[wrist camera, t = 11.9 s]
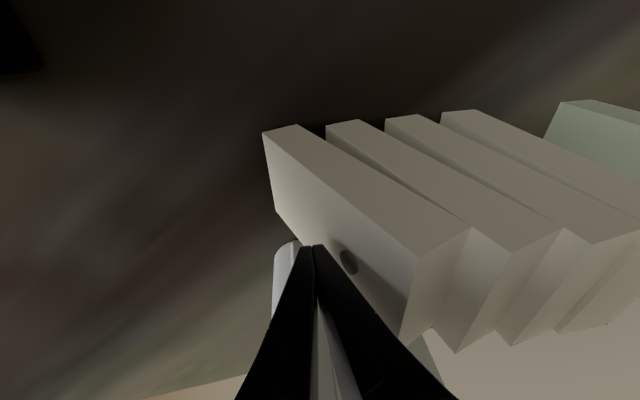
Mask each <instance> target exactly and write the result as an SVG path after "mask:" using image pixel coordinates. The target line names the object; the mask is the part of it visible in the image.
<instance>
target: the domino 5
mask: <svg viewBox="0 0 640 400" xmlns="http://www.w3.org/2000/svg"><path fill="white" fill-rule="evenodd" d="M543 139H544V140H546V141H548V142H550V143H553V144H555V145H557V146H559V147H562V148H564V149H566V150H568V151H571V152H573V153H575V154H577V155H580V156H582V157H584V158H586V159H589V160H591V161H593V162H596V163H598V164H600V165H602V166H605V167H607V168H609V169H611V170H614V171H616V172H618V173H620V174H623V175H625V176H627V177H629V178H632V179H634V180H636V181H638V182H640V112H639V111H635V110H631V109H627V108H623V107H619V106H615V105H612V104H608V103H604V102H600V101H596V100H592V99H589V100H578V101H567V102H560V104H559V106H558V108H557V110H556V113H555V115H554V117H553V119H552V121H551V123H550V125H549V127H548V129H547V131H546V133H545V135H544V137H543Z"/></svg>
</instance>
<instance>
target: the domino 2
mask: <svg viewBox="0 0 640 400" xmlns="http://www.w3.org/2000/svg"><path fill="white" fill-rule="evenodd" d="M326 141H327V142H328V143H330V144H332V145H334V146H335V147H337V148H339V149H340V150H342V151H344V152H346V153H347V154H349V155H351V156H352V157H354V158H356V159H358V160H359V161H361V162H363V163H364V164H366V165H368V166H370V167H371V168H373V169H375V170H376V171H378V172H380V173H382V174H383V175H385V176H387V177H388V178H390V179H392V180H394V181H395V182H397V183H399V184H400V185H402V186H404V187H406V188H407V189H409V190H411V191H412V192H414V193H416V194H418V195H419V196H421V197H423V198H424V199H426V200H428V201H430V202H431V203H433V204H435V205H436V206H438V207H440V208H442V209H443V210H445V211H447V212H448V213H450V214H452V215H454V216H455V217H457V218H459V219H461V220H462V221H464V222H466V223H467V224H469V225H471V226H472V227H471V229H470V232H469V234H468V237H467V239H466V242H465V244H464V247H463V249H462V252H461V254H460V257H459V259H458V262H457V264H456V267H455V269H454V272H453V274H452V277H451V279H450V282H449V284H448V287H447V289H446V292H445V294H444V297H443V299H442V302H441V304H440V307H439V309H438V312H437V314H436V317H435V319H434V322H433V324H432V327H433V329H434V330H435V331H436V332H437V333H438V334H439V336H440V337H441V338H442V339H443V340H444V342H445V343H446V344H447V345H448V346H449V348H450V349H451V350H452V351H453V352H454V353H455V354H456V353H457V352H459V351H461V350H462V349H464V348H465V347H467V346H468V345H470V344H472V343H473V342H475V341H477V340H478V339H480V338H481V337H483V336H485V335H486V334H488V333H489V332H491V331H493V330H494V329H495V328H496V327H497V325H498V324H499V322H500V321H501V320H502V318H503V317H504V315H505V314H506V312H507V311H508V309H509V308H510V306H511V305H512V303H513V302H514V300H515V299H516V297H517V296H518V294H519V293H520V292H521V290H522V289H523V287H524V286H525V284H526V283H527V281H528V280H529V278H530V277H531V275H532V274H533V272H534V271H535V269H536V268H537V266H538V265H539V264H540V262H541V261H542V259H543V258H544V256H545V255H546V253H547V252H548V250H549V249H550V247H551V246H552V244H553V243H554V241H555V240H556V238H557V237H558V236H559V234H560V233H561V231H562V230H563V228H564V227H563V226H561V225H559V224H557V223H555V222H553V221H551V220H549V219H547V218H545V217H544V216H542V215H540V214H538V213H536V212H534V211H532V210H530V209H528V208H527V207H525V206H523V205H521V204H519V203H517V202H515V201H513V200H511V199H509V198H508V197H506V196H504V195H502V194H500V193H498V192H496V191H494V190H492V189H490V188H489V187H487V186H485V185H483V184H481V183H479V182H477V181H475V180H473V179H471V178H470V177H468V176H466V175H464V174H462V173H460V172H458V171H456V170H454V169H452V168H451V167H449V166H447V165H445V164H443V163H441V162H439V161H437V160H435V159H433V158H432V157H430V156H428V155H426V154H424V153H422V152H420V151H418V150H416V149H415V148H413V147H411V146H409V145H407V144H405V143H403V142H401V141H399V140H397V139H396V138H394V137H392V136H390V135H388V134H386V133H384V132H382V131H380V130H378V129H377V128H375V127H373V126H371V125H369V124H367V123H365V122H363V121H361V120H359V119H356V120H351V121H346V122H341V123H336V124H331V125H326Z"/></svg>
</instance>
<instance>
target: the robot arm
mask: <svg viewBox="0 0 640 400" xmlns="http://www.w3.org/2000/svg"><path fill="white" fill-rule="evenodd" d="M20 53H21V54H22V55H24V56H25V57H26V59H27V61H28V64H27V63H25V62H24V61H23V60H22V59H21V58H20V55H19V54H20ZM42 67H43V62H42V59H41V57H40V55H39V54H38V52H37V50H36V48H35V47H34V45H33V43H32V42H31V40H30V38H29V37H28V35H27V33H26V31H25V30H24V28H23V26H22V25H21V23H20V21H19V20H18V18H17V16H16V15H15V13H14V11H13V9H12V8H11V6H10V4H9V3H8V1H7V0H0V75H5V74H21V73H31V72H35V71H39V70H41V68H42ZM317 299H318V300H317ZM318 305H319V309H320V313H321V317H322V321H323V325H324V329H325V333H326V337H327V341H328V345H329V349H330V353H331V357H332V361H333V365H334V369H335V373H336V377H337V381H338V385H339V389H340V393H341V397H342V400H459V399H458V398H456V397H455V396H454V395H453V394H452V393H451V392H450V391H448V390H447V389H446V388H445V387H444V386H443V385H442V384H441V383H440V382H439V381H438V380H437V379H436V378H435V376H434V375H433V374H432V373H431V372H430V371H429V370H428V369H427V368H426V367H425V366H424V365H423V364H422V363H421V362H420V361H419V360H418V359H417V358H416V357H415V356H414V355H413V354H412V353H411V352H410V351H409V350H408V349H407V348H406V347H405V346H404V344H403V343H402V342H401V341H400V340H399V339H398V338H397V337H396V336H395V335H394V334H393V332H392V331H391V330H390V329H389V327H388V326H387V325H386V324H385V323H384V321H383V320H382V319H381V318H380V316H379V315H378V314H377V313H375V310H374V309H373V308H372V306H371V305H370V304H369V302H368V301H367V300H366V299H365V297H364V296H363V295H362V293H361V292H360V291H359V290H358V288H357V287H356V286H355V285H354V283H353V282H352V281H351V279H350V278H349V277H348V276H347V274H346V273H345V272H344V270H343V269H342V268H341V267H340V265H339V264H338V263H337V262H336V260H335V259H334V258H333V256H332V255H331V254H330V253H329V251H328V250H327V249H326V247H325V246H324V245H323V244H316V245H312V247H311V246H310V245H308V246H301V247H300V248H299V251H298V253H297V256H296V258H295V261H294V264H293V266H292V269H291V271H290V274H289V276H288V279H287V281H286V284H285V287H284V289H283V292H282V294H281V297H280V299H279V302H278V304H277V307H276V309H275V312H274V315H273V317H272V320H271V322H270V325H269V329H268V330H267V332H266V335H265V337H264V340H263V342H262V344H261V347H260V349H259V351H258V354H257V356H256V358H255V360H254V362H253V364H252V366H251V368H250V370H249V372H248V374H247V376H246V378H245V380H244V382H243V384H242V386H241V388H240V390H239V392H238V393H237V396H236V397H235V399H234V400H318Z"/></svg>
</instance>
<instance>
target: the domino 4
mask: <svg viewBox="0 0 640 400" xmlns="http://www.w3.org/2000/svg"><path fill="white" fill-rule="evenodd" d="M440 125H442V126H444V127H446V128H448V129H450V130H452V131H454V132H456V133H458V134H460V135H462V136H464V137H467V138H469V139H471V140H473V141H475V142H477V143H479V144H481V145H483V146H485V147H487V148H489V149H491V150H494V151H496V152H498V153H500V154H502V155H504V156H506V157H508V158H510V159H512V160H514V161H516V162H518V163H520V164H523V165H525V166H527V167H529V168H531V169H533V170H535V171H537V172H539V173H541V174H543V175H545V176H547V177H550V178H552V179H554V180H556V181H558V182H560V183H562V184H564V185H566V186H568V187H570V188H572V189H574V190H576V191H579V192H581V193H583V194H585V195H587V196H589V197H591V198H593V199H595V200H597V201H599V202H601V203H603V204H606V205H608V206H610V207H612V208H614V209H616V210H618V211H620V212H622V213H624V214H626V215H628V216H630V217H632V218H635V219H637V220H639V221H640V182H638V181H636V180H634V179H632V178H629V177H627V176H625V175H623V174H620V173H618V172H616V171H614V170H611V169H609V168H607V167H605V166H602V165H600V164H598V163H596V162H593V161H591V160H589V159H586V158H584V157H582V156H580V155H577V154H575V153H573V152H571V151H568V150H566V149H564V148H562V147H559V146H557V145H555V144H553V143H550V142H548V141H546V140H544V139H541V138H539V137H537V136H534V135H532V134H530V133H528V132H525V131H523V130H521V129H519V128H516V127H514V126H512V125H510V124H507V123H505V122H503V121H501V120H498V119H496V118H494V117H492V116H489V115H487V114H485V113H483V112H480V111H478V110H476V109H472V110H461V111H451V112H442V115H441V119H440ZM639 296H640V237H639V238H638V240H637V241H636V242H635V243H634V244H633V245H632V246H631V247H630V248H629V249H628V250H627V251H626V252H625V253H624V255H623V256H622V257H621V258H620V259H619V260H618V261H617V262H616V263H615V264H614V265H613V266H612V267H611V268H610V270H609V271H608V272H607V273H606V274H605V275H604V276H603V277H602V278H601V279H600V280H599V281H598V282H597V283H596V285H595V286H594V287H593V288H592V289H591V290H590V291H589V292H588V293H587V294H586V295H585V296H584V297H583V298H582V300H581V301H580V302H579V303H578V304H577V305H576V306H575V307H574V308H573V309H572V310H571V311H570V312H569V313H568V315H567V316H566V317H565V318H564V319H563V320H562V321H561V322H560V323H559V324H558V325H557V326H556V327H555V328H554V329H555V330H556V332H557V333H558V334H561V333H566V332H570V331H576V330H581V329H586V328H591V327H596V326H602V325H607V324H608V323H609V322H610V321H612V319H614V318H615V317H616V316H617V315H618V314H620V313H621V312H622V311H623V310H624V309H625V308H626V307H628V306H629V305H630V304H631V303H632V302H633V301H634V300H636V298H637V297H639Z"/></svg>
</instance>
